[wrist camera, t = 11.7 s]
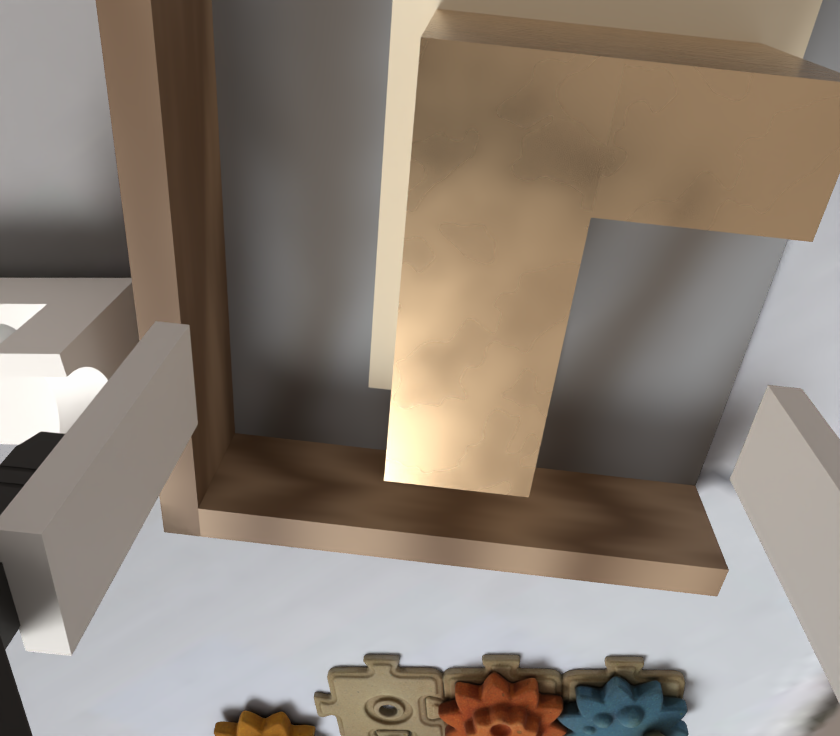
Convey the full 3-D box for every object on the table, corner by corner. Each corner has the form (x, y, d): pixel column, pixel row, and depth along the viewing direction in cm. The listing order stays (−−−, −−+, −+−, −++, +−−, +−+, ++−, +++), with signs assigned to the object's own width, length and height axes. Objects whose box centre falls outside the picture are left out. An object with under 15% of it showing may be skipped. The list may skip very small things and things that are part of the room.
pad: (370, 380, 33) (368, 387, 32) (397, -48, 24) (395, -48, 24) (676, 414, 33) (679, 422, 32) (815, -4, 24) (823, -3, 23)
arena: (208, 448, 36) (164, 532, 31) (163, -126, 24) (77, -142, 19) (683, 502, 36) (717, 596, 31) (886, -50, 24) (1000, -46, 18)
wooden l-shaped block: (436, 8, 24) (420, 37, 17) (762, 43, 24) (874, 85, 17) (404, 362, 32) (383, 480, 25) (654, 391, 31) (703, 517, 25)
